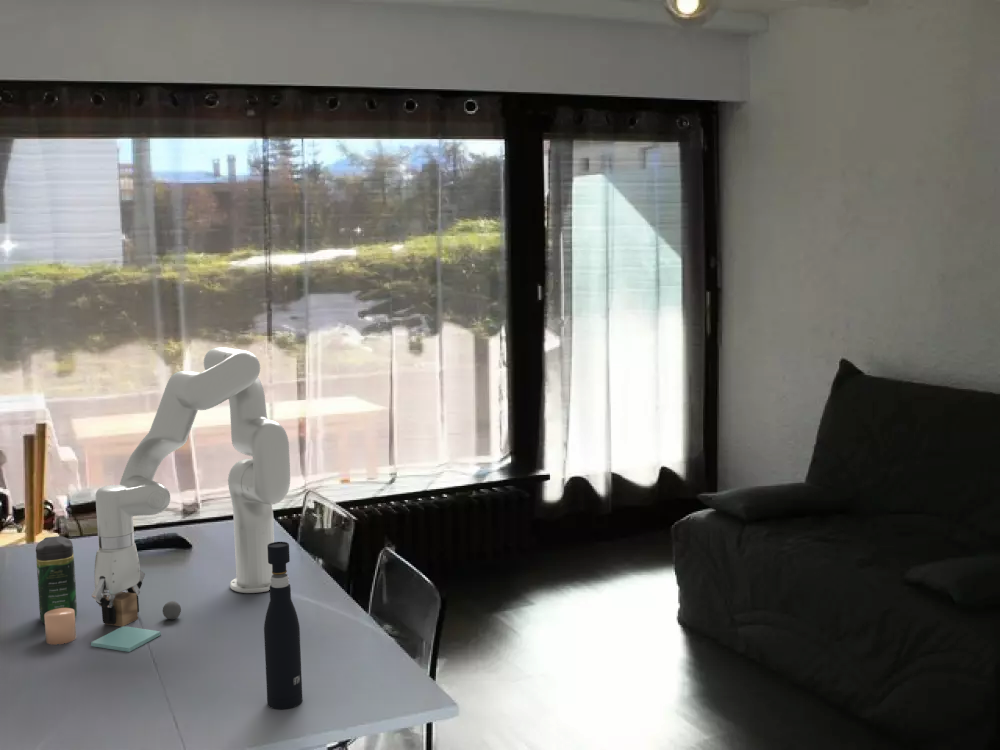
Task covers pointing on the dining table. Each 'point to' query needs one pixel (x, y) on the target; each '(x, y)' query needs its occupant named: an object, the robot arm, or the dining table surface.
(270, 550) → the insulated water bottle
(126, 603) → the walnut block
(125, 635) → the coaster
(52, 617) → the beige rounded cylinder
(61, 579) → the coffee jar
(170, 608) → the rubber ball
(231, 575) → the dining table surface
